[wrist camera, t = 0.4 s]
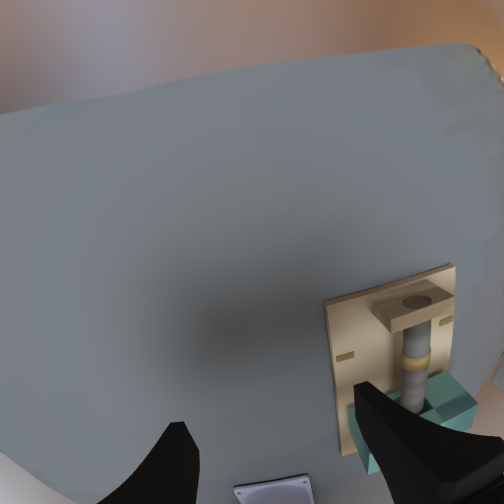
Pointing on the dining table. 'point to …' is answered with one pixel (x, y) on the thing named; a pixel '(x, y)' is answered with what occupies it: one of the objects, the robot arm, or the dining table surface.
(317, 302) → the dining table surface
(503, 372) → the skincare box
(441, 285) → the pipe jig
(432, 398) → the collar
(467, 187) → the dining table surface
